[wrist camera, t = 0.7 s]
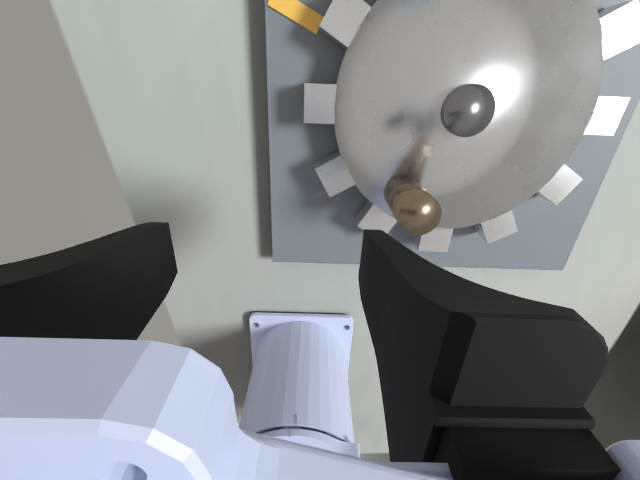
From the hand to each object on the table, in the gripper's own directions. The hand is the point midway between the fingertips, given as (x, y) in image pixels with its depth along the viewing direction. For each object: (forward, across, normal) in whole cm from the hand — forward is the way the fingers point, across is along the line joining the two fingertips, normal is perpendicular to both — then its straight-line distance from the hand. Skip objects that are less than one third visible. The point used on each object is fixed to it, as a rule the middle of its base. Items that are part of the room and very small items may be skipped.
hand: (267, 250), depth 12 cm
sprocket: (+8, -9, -5) cm, 13 cm away
